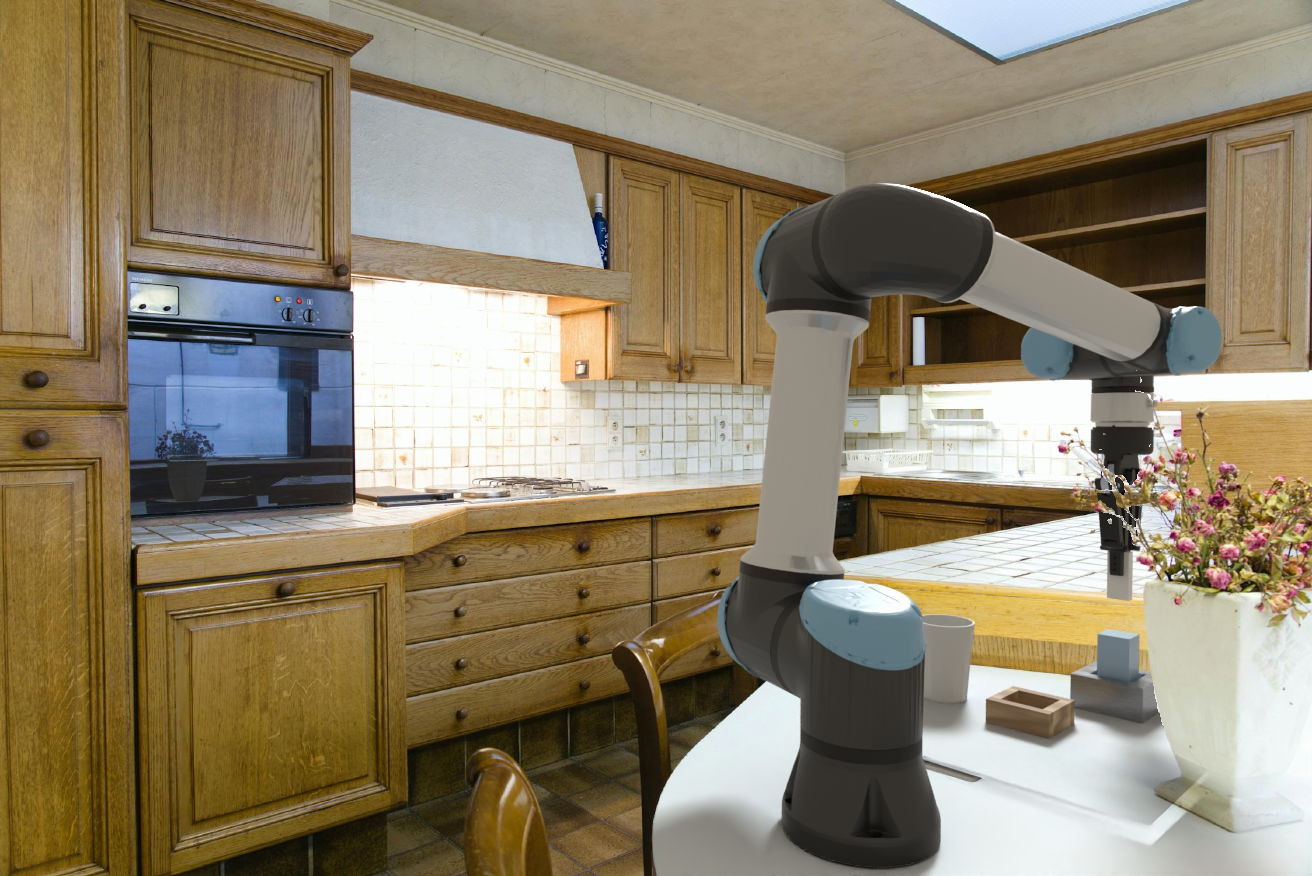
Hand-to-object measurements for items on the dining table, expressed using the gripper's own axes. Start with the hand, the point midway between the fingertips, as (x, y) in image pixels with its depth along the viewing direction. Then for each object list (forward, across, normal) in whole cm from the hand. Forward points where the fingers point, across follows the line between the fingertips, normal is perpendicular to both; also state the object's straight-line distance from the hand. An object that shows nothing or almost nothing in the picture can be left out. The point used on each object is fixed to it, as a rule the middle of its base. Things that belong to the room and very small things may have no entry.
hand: (1119, 598), depth 117 cm
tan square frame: (+15, -15, +6) cm, 22 cm away
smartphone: (+17, -32, +11) cm, 38 cm away
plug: (+15, 0, 0) cm, 15 cm away
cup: (+16, -13, +18) cm, 28 cm away
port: (+15, 0, 0) cm, 15 cm away
